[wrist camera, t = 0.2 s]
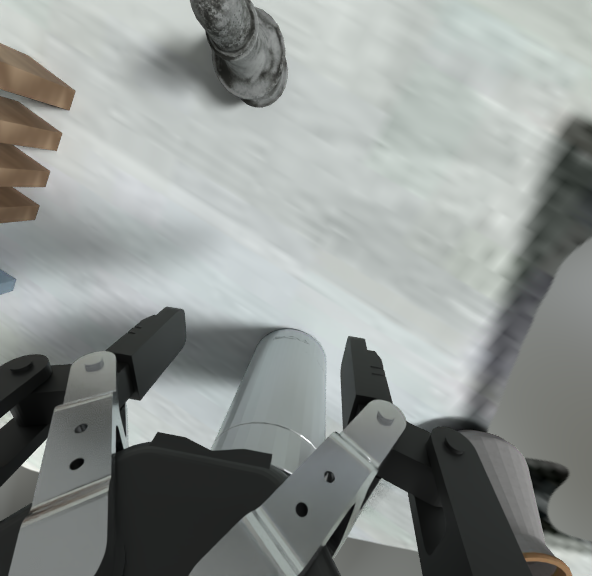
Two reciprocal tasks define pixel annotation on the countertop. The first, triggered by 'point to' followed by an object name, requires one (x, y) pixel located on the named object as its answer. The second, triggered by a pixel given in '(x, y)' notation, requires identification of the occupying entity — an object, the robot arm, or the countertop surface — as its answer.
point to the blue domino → (6, 282)
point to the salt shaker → (244, 49)
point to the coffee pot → (516, 500)
